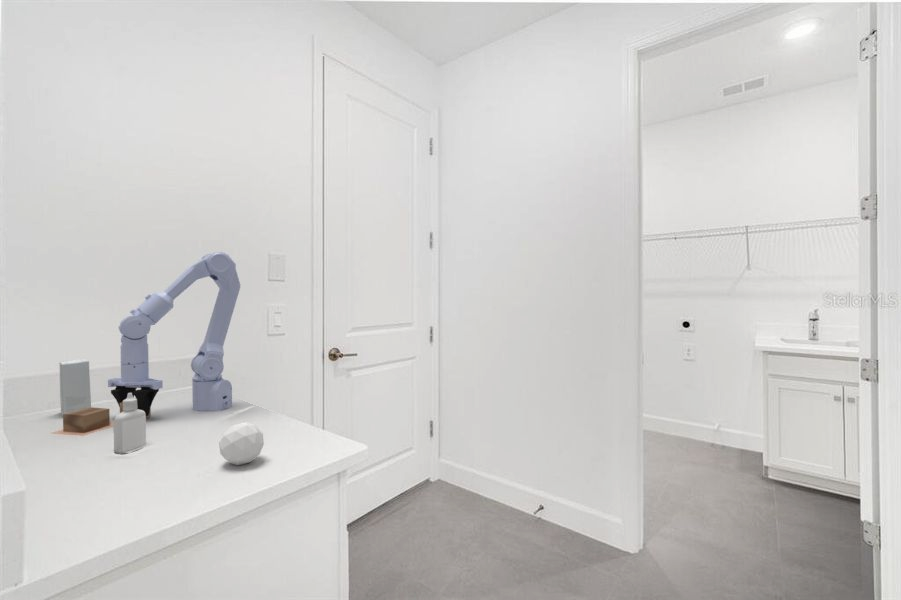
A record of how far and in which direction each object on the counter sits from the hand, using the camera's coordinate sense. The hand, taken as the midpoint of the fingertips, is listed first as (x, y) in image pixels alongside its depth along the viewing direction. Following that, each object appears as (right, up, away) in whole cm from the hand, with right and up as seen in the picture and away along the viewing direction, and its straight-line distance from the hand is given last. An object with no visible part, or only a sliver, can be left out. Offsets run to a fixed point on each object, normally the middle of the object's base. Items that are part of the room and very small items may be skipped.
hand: (135, 416), depth 112 cm
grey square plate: (-3, -2, -4) cm, 6 cm away
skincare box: (-19, -2, +5) cm, 20 cm away
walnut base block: (-6, -1, -8) cm, 10 cm away
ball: (+40, -2, -26) cm, 48 cm away
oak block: (0, -1, 0) cm, 1 cm away
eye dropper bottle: (+13, -2, -20) cm, 24 cm away
